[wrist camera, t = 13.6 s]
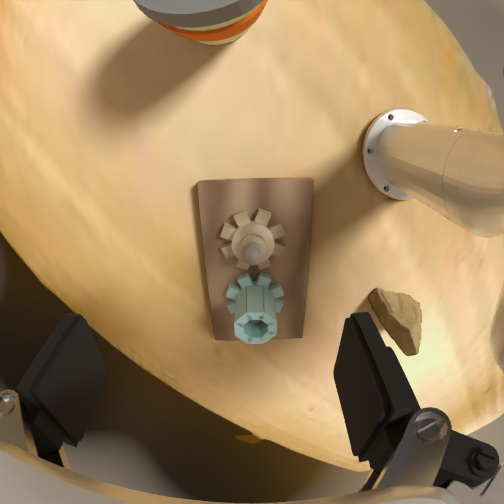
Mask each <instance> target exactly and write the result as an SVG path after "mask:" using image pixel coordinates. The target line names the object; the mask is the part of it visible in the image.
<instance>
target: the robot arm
mask: <svg viewBox="0 0 504 504" xmlns="http://www.w3.org/2000/svg"><path fill="white" fill-rule="evenodd" d="M388 116H389V119H388ZM368 149H369V150H370V151H369V152H368ZM362 154H363V163H364V167H365V170H366V172H367V175H368V177H369V179H370V180H371V182H372V183H373V185H374V186H375V187H376V188H377V189H378V190H379V191H381V192H382V193H384V194H385V195H387V196H389V197H391V198H394V199H398V200H409V199H413V198H415V199H417V200H418V201H420V202H422V203H423V204H425V205H427V206H428V207H430V208H432V209H433V210H435V211H436V212H438V213H440V214H441V215H443V216H444V217H446V218H447V219H449V220H450V221H452V222H454V223H455V224H457V225H458V226H460V227H461V228H463V229H464V230H466V231H467V232H469V233H471V234H473V235H476V236H479V237H486V238H488V237H495V236H499V235H502V234H504V134H500V133H494V132H489V131H484V130H478V129H472V128H466V127H460V126H453V125H446V124H439V123H430V122H429V121H428V120H427V119H426V118H425V117H423V116H422V115H421V114H419V113H417V112H415V111H412V110H409V109H392V110H388V111H386V112H384V113H382V114H380V115H379V116H378V117H377V118H376V119H375V120H374V121H373V122H372V123H371V125H370V126H369V128H368V130H367V132H366V134H365V138H364V142H363V150H362ZM384 186H385V188H384ZM490 349H491V352H492V355H493V358H494V360H495V362H496V364H497V365H498V366H499V368H500V369H501V370H502V371H503V372H504V282H503V286H502V290H501V293H500V297H499V300H498V303H497V306H496V309H495V313H494V316H493V320H492V324H491V329H490ZM107 376H108V366H107V364H106V362H105V360H104V358H103V356H102V354H101V352H100V350H99V348H98V346H97V344H96V341H95V339H94V337H93V335H92V332H91V330H90V328H89V326H88V323H87V321H86V319H84V318H83V316H82V315H80V314H72V313H68V314H66V315H65V316H64V318H63V319H62V320H61V322H60V323H59V324H58V326H57V327H56V328H55V330H54V331H53V333H52V334H51V336H50V337H49V338H48V340H47V341H46V343H45V344H44V346H43V347H42V349H41V350H40V352H39V353H38V355H37V356H36V358H35V359H34V361H33V362H32V364H31V365H30V367H29V369H28V370H27V372H26V373H25V375H24V376H23V378H22V380H21V381H20V383H19V385H18V386H17V389H18V391H19V392H20V394H19V396H18V395H17V393H16V392H14V391H13V390H4V391H2V392H0V504H504V463H503V464H502V465H501V464H499V455H498V453H497V451H496V449H495V448H494V447H493V446H491V445H489V444H487V443H484V442H481V441H479V440H476V439H473V438H471V437H468V436H466V435H463V434H461V433H458V432H456V431H453V430H452V426H451V421H450V419H449V417H448V416H447V415H446V414H445V413H444V412H443V411H441V410H439V409H437V408H432V407H428V408H423V409H421V408H420V406H419V404H418V401H417V399H416V397H415V395H414V393H413V390H412V388H411V386H410V384H409V382H408V380H407V377H406V375H405V373H404V371H403V369H402V367H401V365H400V363H399V361H398V359H397V357H396V355H395V353H394V351H393V350H392V348H391V347H386V345H385V343H384V341H383V339H382V337H381V335H380V333H379V331H378V329H377V327H376V325H375V323H374V322H373V320H372V318H371V316H370V314H369V313H368V312H362V313H352V314H351V315H350V318H346V320H345V323H344V328H343V333H342V337H341V342H340V346H339V350H338V355H337V359H336V363H335V367H334V380H335V384H336V388H337V392H338V396H339V399H340V403H341V407H342V411H343V415H344V419H345V423H346V428H347V432H348V436H349V440H350V444H351V449H352V453H353V455H354V456H358V458H359V462H363V461H368V460H369V463H370V467H371V468H372V470H371V472H370V474H369V475H368V477H367V479H366V480H365V482H364V484H363V485H362V487H361V488H360V490H359V491H358V493H353V494H346V495H340V496H334V497H328V498H321V499H313V500H303V501H292V502H278V503H220V502H206V501H196V500H195V501H194V500H187V499H178V498H172V497H166V496H160V495H155V494H150V493H145V492H140V491H135V490H131V489H127V488H123V487H120V486H116V485H112V484H109V483H105V482H102V481H99V480H96V479H93V478H90V477H87V476H84V475H81V474H78V473H76V472H73V471H71V469H70V466H69V464H68V461H67V458H66V456H65V453H64V450H63V447H62V444H63V441H64V442H65V443H66V444H69V445H72V446H75V447H77V444H78V441H81V440H82V438H83V435H84V432H85V430H86V427H87V425H88V422H89V419H90V417H91V414H92V412H93V409H94V407H95V404H96V401H97V399H98V397H99V394H100V392H101V390H102V387H103V385H104V383H105V381H106V378H107Z"/></svg>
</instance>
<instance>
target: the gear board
mask: <svg viewBox="0 0 504 504" xmlns="http://www.w3.org/2000/svg"><path fill="white" fill-rule="evenodd" d="M197 185H198V197H199V209H200V220H201V230H202V240H203V249H204V258H205V267H206V275H207V283H208V291H209V299H210V307H211V314H212V321H213V328H214V335H215V340H241V339H239V338H238V337H236V335H235V329H234V317H235V313H233V314H231V312H230V311H229V309H228V308H227V302H228V301H231V300H234V299H231V298H228V297H226V292H227V290H228V287H229V285H230V284H232V285H235V286H238V287H241V286H240V284H239V282H238V281H237V279H238V276H240V275H243V274H246V273H249V275H250V277H251V278H252V280H253V281H256V280H257V278H258V276H259V274H260V272H261V273H264V274H267V275H270V276H271V278H272V280H271V282H270V284H269V286H272V285H274V284H277V283H280V285H281V287H282V289H283V292H284V296H281V297H278V298H276V299H280V300H283V303H284V305H283V307H282V309H281V310H280V312H279V313H278V312H276V317H277V334H276V336H274V337H273V338H272V339H291V338H302V335H303V325H304V316H305V306H306V295H307V283H308V271H309V257H310V242H311V225H312V204H313V180H312V179H311V178H252V179H225V180H205V181H199V182H198V183H197ZM261 321H262V320H250V321H249V322H250V323H251V324H258V323H260V322H261Z"/></svg>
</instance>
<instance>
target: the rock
mask: <svg viewBox="0 0 504 504" xmlns="http://www.w3.org/2000/svg"><path fill="white" fill-rule="evenodd" d="M368 299H369V302H370V304H371V307H372V309H373V311H374V312H375V314H376V315H377V317H378V319H379V321H380V323H381V324H382V325H383V326H384V328H385V330H386V331H387V332H388V334H389V335H390V337H391V338H392V339H393V340H394V341H395V342H396V344H397V345H398V347H399V348H400V349H401V350H402V352H403V353H404V354H405V355H407V356H412V355H416V354H417V353H418V352H419V346H420V340H421V323H422V313H421V309H420V303H419V302H416V301H415V300H414V299H413V298H412V297H410V295H405V294H403V293H402V294H401V293H394V292H385V291H384V290H382V289H378V288H377V289H376V290H375V291H374V292H373V293H372V294H371V295H370V296H369V298H368Z"/></svg>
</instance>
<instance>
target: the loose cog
mask: <svg viewBox="0 0 504 504" xmlns="http://www.w3.org/2000/svg"><path fill="white" fill-rule="evenodd" d="M271 280H272V278H271V276H270V275H267V274H264V273H261V272H260V274H259V276H258V278H257V280H256V281H253V280H252V278H251V277H250V275H249V273H246V274H243V275H240V276H238V279H237V281H238V282H239V284H240V286H241V287H238V286H235V285H232V284H230V285H229V287H228V290H227V292H226V297H228V298H231V299H234V300H231V301H228V302H227V308H228V309H229V311H230V312H231V314H233V313H235V317H234V329H235V335H236V337H238V338H239V339H241V340H242V341H244V342H245V343H247V344H264V343H266V342H267V341H269V340H270V339H272V338H273V337H274V336H276V334H277V317H276V312H278V313H279V312H280V310H281V309H282V307H283V305H284V303H283V300H280V299H276V298H278V297H281V296H284V292H283V289H282V287H281V285H280V283H277V284H274V285H272V286H269V284H270V282H271ZM250 320H262V321H261V322H260V323H258V324H251V323H250V322H249V321H250Z"/></svg>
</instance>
